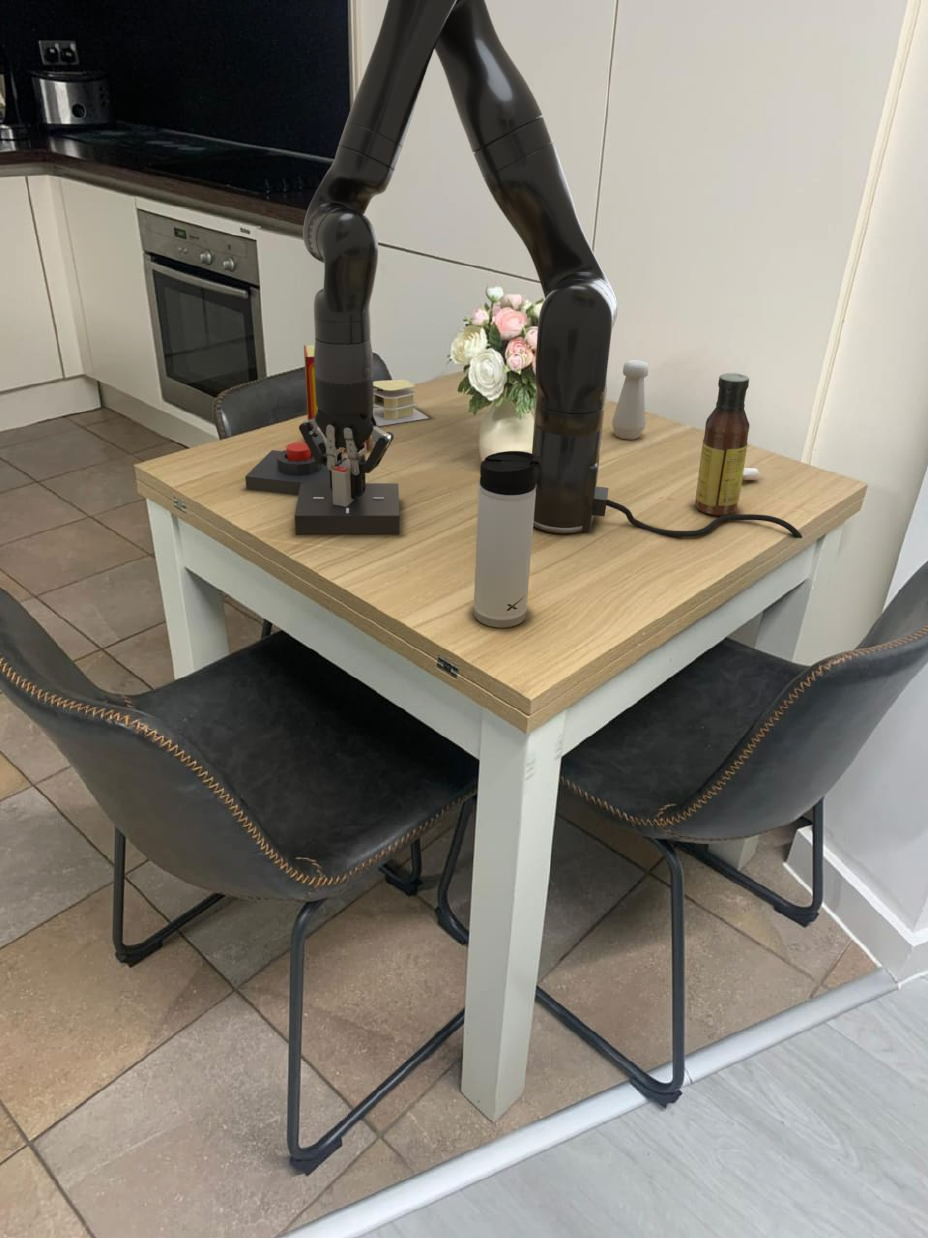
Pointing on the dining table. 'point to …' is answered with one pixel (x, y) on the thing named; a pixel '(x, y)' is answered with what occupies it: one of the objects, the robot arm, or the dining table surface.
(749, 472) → the small white plastic part
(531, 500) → the travel mug
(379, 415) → the stacked layers on plate
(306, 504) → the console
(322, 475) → the red button base
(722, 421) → the sauce bottle
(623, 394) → the salt shaker
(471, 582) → the dining table surface
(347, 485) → the grey block
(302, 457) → the power button
